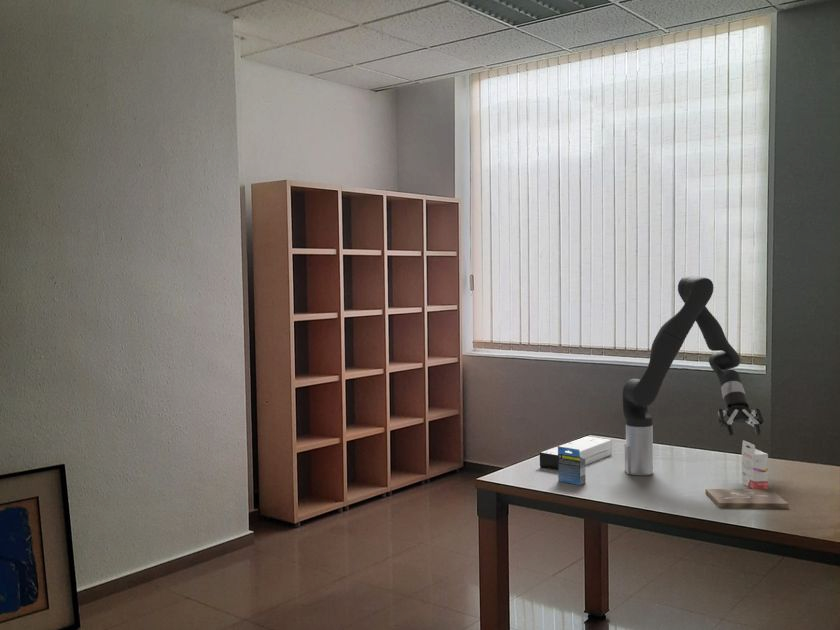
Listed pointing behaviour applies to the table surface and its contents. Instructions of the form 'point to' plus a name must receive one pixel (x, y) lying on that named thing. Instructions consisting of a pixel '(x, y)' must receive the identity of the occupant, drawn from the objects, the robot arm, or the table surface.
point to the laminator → (587, 448)
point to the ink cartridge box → (754, 467)
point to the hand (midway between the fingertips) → (745, 435)
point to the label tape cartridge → (571, 466)
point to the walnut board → (746, 498)
